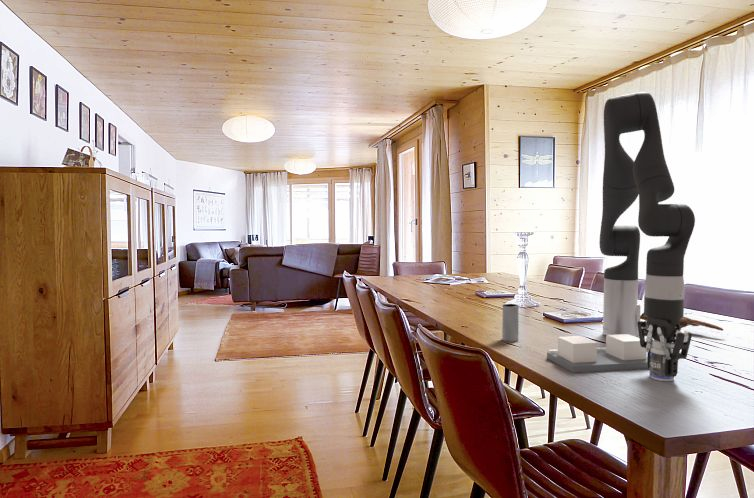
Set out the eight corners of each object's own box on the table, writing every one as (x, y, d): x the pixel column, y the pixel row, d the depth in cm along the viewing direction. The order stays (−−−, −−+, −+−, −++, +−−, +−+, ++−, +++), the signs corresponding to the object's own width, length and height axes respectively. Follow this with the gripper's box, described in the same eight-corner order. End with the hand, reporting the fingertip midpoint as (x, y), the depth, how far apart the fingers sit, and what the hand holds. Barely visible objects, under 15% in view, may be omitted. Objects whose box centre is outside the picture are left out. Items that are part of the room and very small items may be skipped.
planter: (518, 338, 146) (519, 304, 145) (517, 342, 142) (518, 306, 141) (503, 337, 147) (503, 303, 147) (501, 341, 143) (502, 305, 142)
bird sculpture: (720, 340, 143) (721, 323, 143) (630, 326, 162) (630, 311, 162) (726, 336, 148) (727, 320, 147) (638, 323, 166) (639, 309, 166)
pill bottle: (644, 375, 111) (645, 338, 110) (664, 374, 111) (665, 337, 111) (658, 382, 106) (659, 343, 106) (679, 381, 106) (680, 343, 106)
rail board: (626, 354, 128) (626, 331, 128) (659, 367, 116) (660, 342, 116) (547, 358, 125) (547, 334, 125) (572, 372, 113) (573, 346, 113)
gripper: (705, 300, 101) (702, 382, 102) (656, 290, 115) (654, 362, 116) (672, 301, 100) (670, 384, 101) (626, 291, 114) (625, 364, 115)
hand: (661, 372), depth 109 cm, fingers closed on pill bottle, 4 cm apart
